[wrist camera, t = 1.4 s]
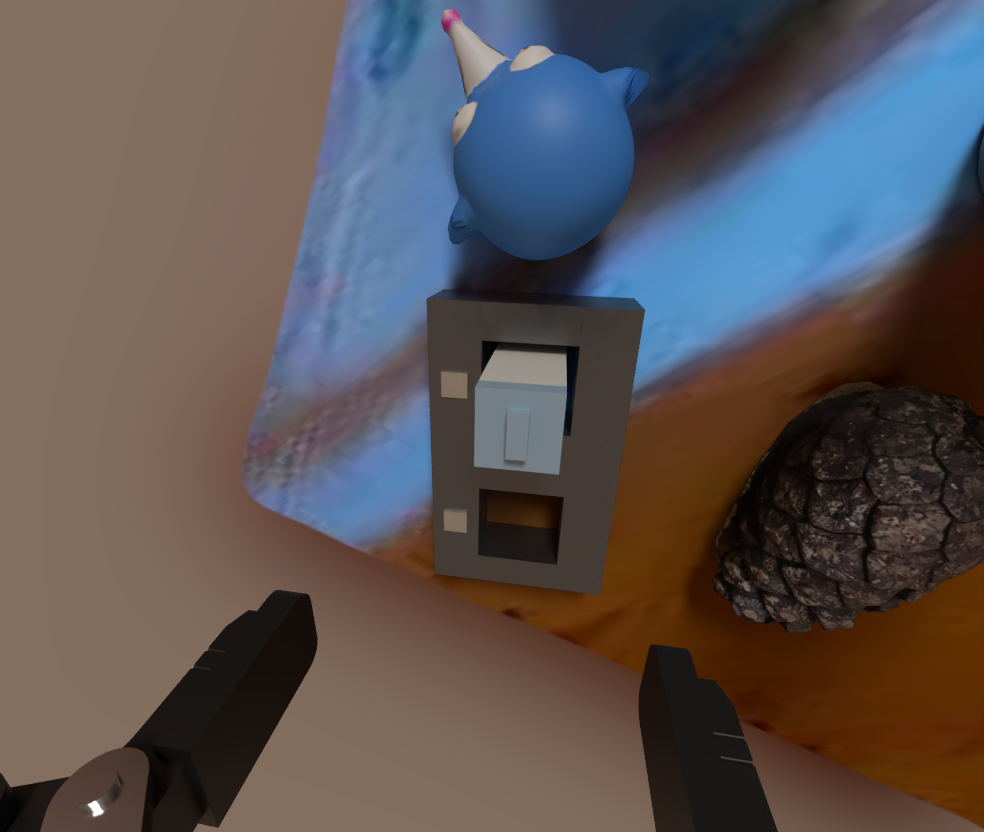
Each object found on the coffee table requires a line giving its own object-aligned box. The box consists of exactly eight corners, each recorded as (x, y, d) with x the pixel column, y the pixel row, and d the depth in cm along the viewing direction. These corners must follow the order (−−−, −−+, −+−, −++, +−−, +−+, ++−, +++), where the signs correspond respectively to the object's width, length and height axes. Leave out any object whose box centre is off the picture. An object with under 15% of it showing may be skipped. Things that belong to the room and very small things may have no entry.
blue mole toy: (559, -51, 22) (556, -197, 14) (679, 168, 25) (731, 144, 17) (384, 127, 26) (309, 87, 18) (504, 298, 29) (483, 325, 21)
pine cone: (680, 558, 35) (722, 678, 26) (816, 343, 27) (942, 404, 18) (810, 603, 35) (897, 739, 26) (981, 399, 27) (1192, 487, 18)
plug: (566, 340, 29) (567, 398, 20) (560, 401, 31) (558, 480, 21) (502, 337, 30) (472, 391, 20) (500, 396, 32) (472, 472, 22)
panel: (634, 298, 28) (645, 310, 24) (596, 557, 36) (599, 597, 32) (443, 289, 29) (425, 299, 25) (447, 539, 37) (434, 575, 33)
